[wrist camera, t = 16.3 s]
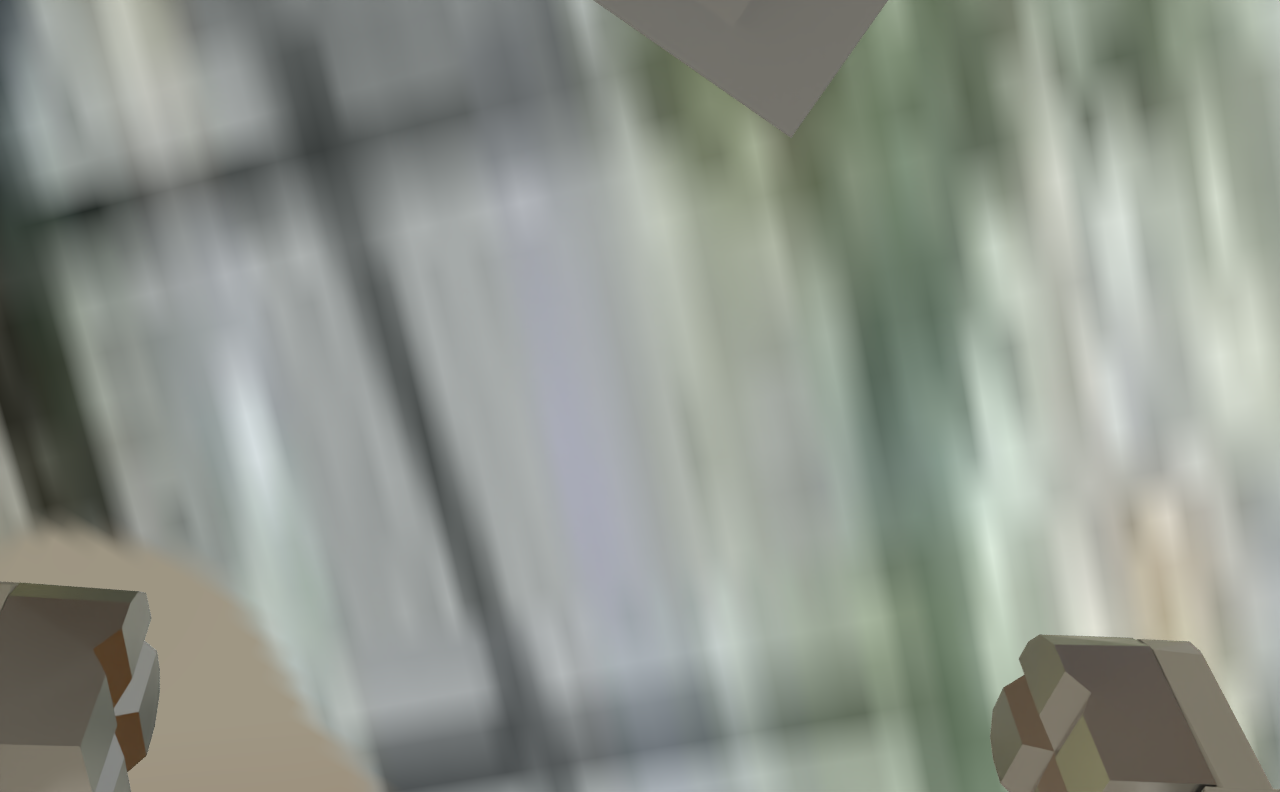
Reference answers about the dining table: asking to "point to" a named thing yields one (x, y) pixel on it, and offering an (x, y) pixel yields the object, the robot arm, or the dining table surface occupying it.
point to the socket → (757, 45)
